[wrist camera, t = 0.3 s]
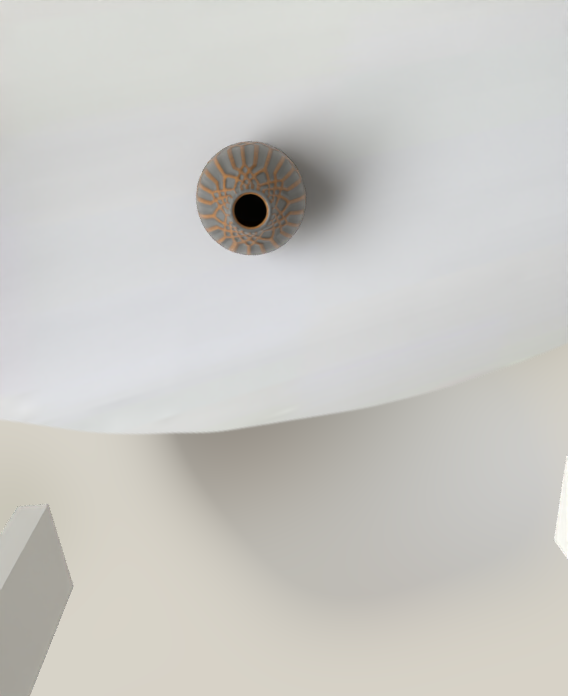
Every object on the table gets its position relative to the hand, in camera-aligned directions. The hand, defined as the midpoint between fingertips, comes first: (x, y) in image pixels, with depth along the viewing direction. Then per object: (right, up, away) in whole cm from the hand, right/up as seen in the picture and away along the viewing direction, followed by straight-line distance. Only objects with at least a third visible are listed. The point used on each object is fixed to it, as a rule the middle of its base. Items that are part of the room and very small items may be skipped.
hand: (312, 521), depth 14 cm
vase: (-3, +15, +24) cm, 29 cm away
